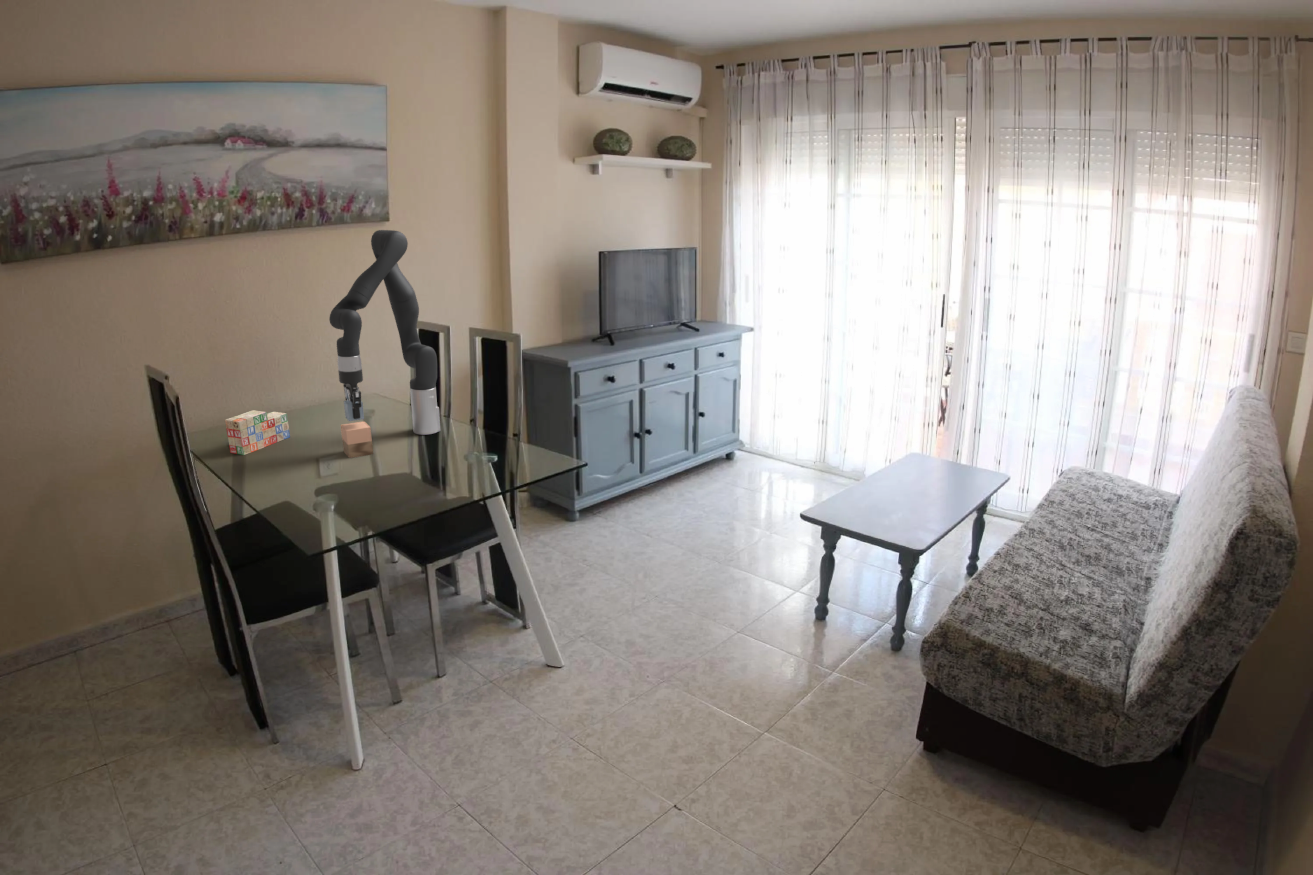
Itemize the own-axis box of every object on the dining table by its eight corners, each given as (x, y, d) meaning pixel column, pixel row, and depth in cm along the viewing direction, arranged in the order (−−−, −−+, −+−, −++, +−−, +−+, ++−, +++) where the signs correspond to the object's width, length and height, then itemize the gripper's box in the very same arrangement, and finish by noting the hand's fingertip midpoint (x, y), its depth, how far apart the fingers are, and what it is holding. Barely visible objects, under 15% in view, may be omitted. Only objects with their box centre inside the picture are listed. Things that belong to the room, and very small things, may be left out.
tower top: (365, 434, 284) (364, 421, 283) (371, 441, 278) (370, 427, 276) (341, 438, 280) (340, 424, 278) (347, 444, 274) (346, 430, 272)
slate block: (360, 415, 280) (358, 398, 278) (364, 419, 276) (362, 402, 274) (345, 417, 277) (343, 400, 275) (349, 421, 273) (347, 404, 271)
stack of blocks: (277, 435, 297) (272, 403, 293) (290, 437, 295) (286, 405, 291) (229, 453, 278) (224, 419, 274) (243, 455, 276) (238, 421, 272)
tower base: (367, 448, 286) (365, 434, 284) (373, 454, 280) (372, 441, 278) (343, 451, 282) (342, 438, 280) (349, 458, 275) (348, 444, 274)
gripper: (367, 371, 267) (371, 420, 273) (356, 362, 279) (360, 409, 284) (343, 373, 263) (348, 423, 269) (333, 365, 275) (338, 412, 280)
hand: (354, 416), depth 276 cm, fingers closed on slate block, 5 cm apart
